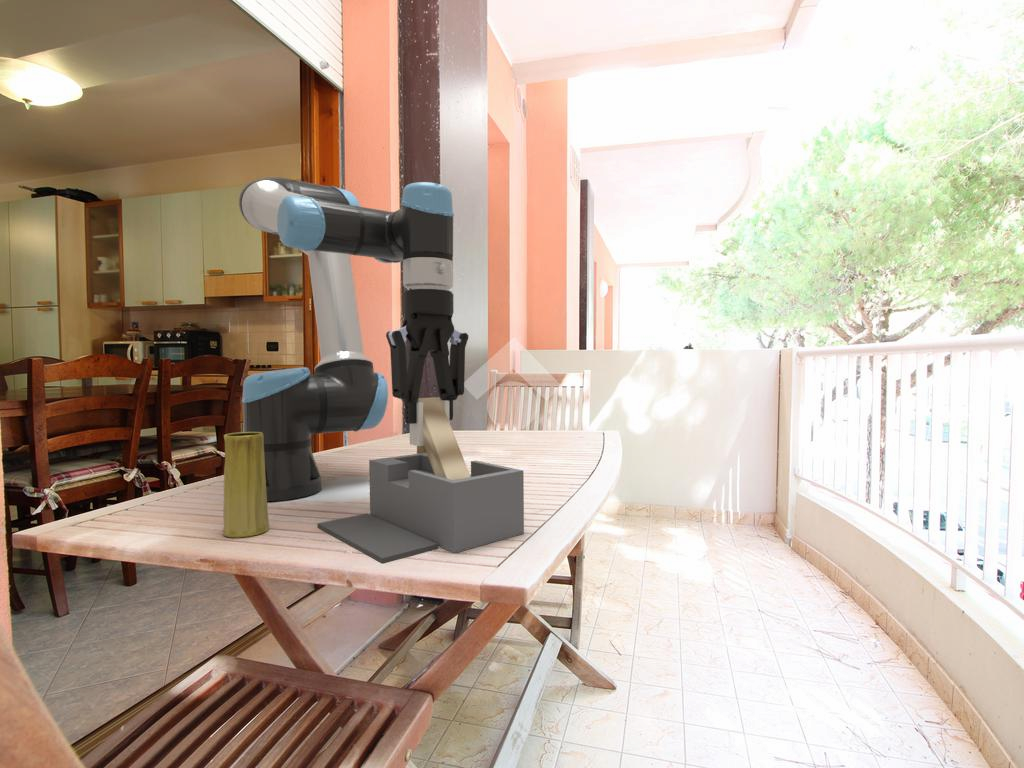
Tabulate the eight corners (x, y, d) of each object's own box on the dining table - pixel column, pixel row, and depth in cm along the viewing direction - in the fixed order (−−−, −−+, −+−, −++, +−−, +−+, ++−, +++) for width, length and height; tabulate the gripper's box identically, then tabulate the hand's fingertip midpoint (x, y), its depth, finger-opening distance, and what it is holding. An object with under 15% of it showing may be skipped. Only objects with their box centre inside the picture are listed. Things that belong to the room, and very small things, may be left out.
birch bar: (410, 406, 86) (417, 398, 84) (432, 405, 88) (439, 397, 87) (449, 515, 79) (458, 508, 77) (472, 510, 81) (480, 503, 80)
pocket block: (370, 516, 88) (369, 460, 88) (434, 503, 96) (433, 451, 96) (454, 553, 71) (453, 483, 71) (523, 533, 79) (523, 470, 78)
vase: (257, 523, 85) (255, 430, 85) (277, 530, 81) (274, 433, 81) (215, 532, 81) (212, 434, 80) (234, 541, 77) (231, 437, 76)
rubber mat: (317, 527, 83) (317, 523, 83) (367, 517, 88) (367, 513, 88) (382, 563, 68) (382, 558, 68) (437, 548, 73) (437, 543, 73)
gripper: (390, 282, 76) (392, 452, 77) (488, 292, 87) (488, 440, 88) (364, 287, 82) (367, 446, 83) (459, 296, 93) (460, 435, 94)
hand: (429, 443), depth 86 cm, fingers closed on birch bar, 4 cm apart
